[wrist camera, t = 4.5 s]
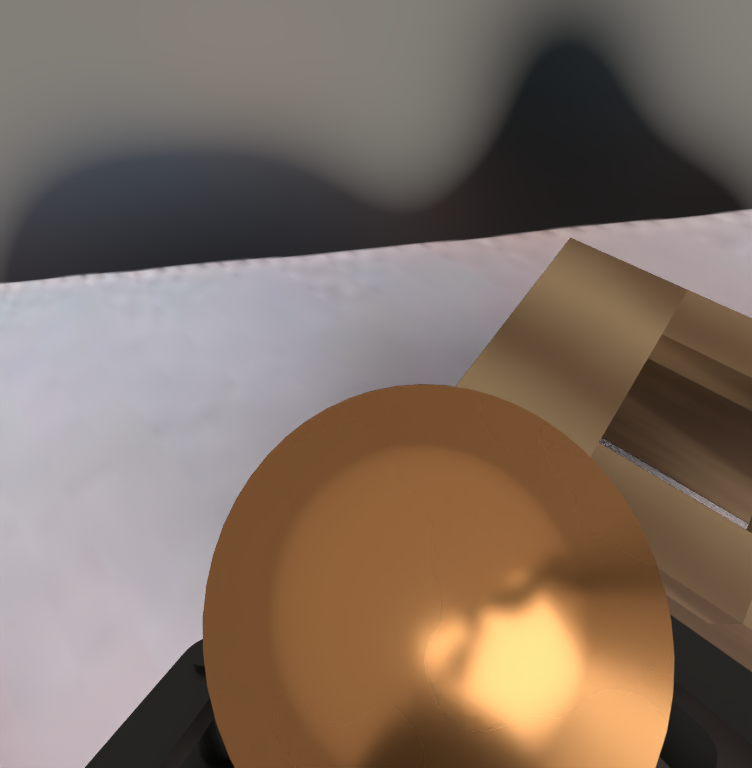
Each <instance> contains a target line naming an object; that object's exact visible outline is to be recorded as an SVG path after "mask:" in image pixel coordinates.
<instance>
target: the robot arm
mask: <svg viewBox="0 0 752 768" xmlns="http://www.w3.org/2000/svg"><path fill="white" fill-rule="evenodd" d="M670 617H671V623H672V634H673V645H674V657H675V658H674V685H673V698H672V704H671V710H670V716H669V722H668V728H667V733H666V736H665V739H664V742H663V746H662V749H661V752H660V755H659V758H658V761H657V765H656V768H752V672H751V671H750V670H748V669H747V668H746V667H744V666H743V665H741V664H740V663H738V662H737V661H736V660H734V659H733V658H731V657H730V656H729V655H727V654H726V653H724V652H723V651H721V650H720V649H719V648H717V647H716V646H714V645H713V644H712V643H710V642H709V641H707V640H706V639H704V638H703V637H702V636H700V635H699V634H697V633H696V632H695V631H693V630H692V629H690V628H689V627H687V626H686V625H685V624H683V623H682V622H680V621H679V620H678V619H676V618H675V617H673V616H672V615H670ZM85 768H235V767H234V765H233V763H232V762H231V760H230V758H229V755H228V752H227V750H226V747H225V745H224V742H223V739H222V737H221V734H220V732H219V729H218V726H217V724H216V720H215V716H214V712H213V708H212V704H211V700H210V696H209V692H208V688H207V680H206V672H205V664H204V655H203V639H202V640H200V641H198V642H197V643H195V644H194V645H192V646H191V647H190V648H189V649H188V650H187V651H186V652H185V653H184V654H183V655H182V656H181V657H180V658H179V660H178V661H177V662H176V663H175V664H174V665H173V667H172V668H171V669H170V670H169V671H168V672H167V673H166V675H165V676H164V677H163V678H162V679H161V680H160V682H159V683H158V684H157V685H156V686H155V687H154V688H153V690H152V691H151V692H150V693H149V694H148V695H147V696H146V698H145V699H144V700H143V701H142V702H141V703H140V705H139V706H138V707H137V708H136V709H135V710H134V711H133V713H132V714H131V715H130V716H129V717H128V718H127V720H126V721H125V722H124V723H123V724H122V725H121V726H120V728H119V729H118V730H117V731H116V732H115V733H114V735H113V736H112V737H111V738H110V739H109V740H108V741H107V743H106V744H105V745H104V746H103V747H102V748H101V750H100V751H99V752H98V753H97V754H96V755H95V756H94V758H93V759H92V760H91V761H90V762H89V763H88V765H87V766H86V767H85Z"/></svg>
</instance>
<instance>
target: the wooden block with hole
mask: <svg viewBox="0 0 752 768" xmlns="http://www.w3.org/2000/svg"><path fill="white" fill-rule="evenodd" d="M455 387H460V388H466V389H471V390H475V391H478V392H482V393H486V394H489V395H493V396H495V397H498V398H501V399H503V400H506V401H508V402H511V403H513V404H516V405H518V406H520V407H522V408H524V409H525V410H527V411H529V412H531V413H533V414H535V415H537V416H539V417H540V418H542V419H543V420H545V421H546V422H548V423H549V424H551V425H552V426H554V427H555V428H557V429H558V430H560V431H561V432H563V433H564V434H565V435H566V436H567V437H568V438H570V439H571V440H572V441H573V442H574V443H576V444H577V445H578V446H579V447H580V448H581V449H583V450H584V451H585V452H586V453H587V454H588V455H589V456H590V457H591V459H592V460H593V461H594V462H595V463H596V464H597V465H598V466H599V467H600V468H601V469H602V470H603V471H604V472H605V474H606V475H607V476H608V477H609V479H610V480H611V481H612V483H613V484H614V485H615V487H616V488H617V489H618V491H619V492H620V493H621V494H622V496H623V497H624V499H625V501H626V502H627V504H628V506H629V507H630V509H631V511H632V512H633V514H634V516H635V517H636V519H637V520H638V522H639V524H640V526H641V528H642V530H643V532H644V535H645V537H646V539H647V541H648V543H649V545H650V548H651V550H652V552H653V554H654V557H655V560H656V563H657V566H658V569H659V572H660V575H661V578H662V581H663V584H664V588H665V593H666V598H667V602H668V607H669V612H670V615H672V616H673V617H675V618H676V619H678V620H679V621H680V622H682V623H683V624H685V625H686V626H687V627H689V628H690V629H692V630H693V631H695V632H696V633H697V634H699V635H700V636H702V637H703V638H704V639H706V640H707V641H709V642H710V643H712V644H713V645H714V646H716V647H717V648H719V649H720V650H721V651H723V652H724V653H726V654H727V655H729V656H730V657H731V658H733V659H734V660H736V661H737V662H738V663H740V664H741V665H743V666H744V667H746V668H747V669H748V670H750V671H751V672H752V318H749V317H747V316H745V315H743V314H740V313H738V312H736V311H734V310H731V309H729V308H727V307H725V306H723V305H720V304H718V303H716V302H714V301H711V300H709V299H707V298H705V297H702V296H700V295H698V294H696V293H693V292H691V291H689V290H687V289H684V288H682V287H680V286H678V285H675V284H673V283H671V282H669V281H666V280H664V279H662V278H660V277H657V276H655V275H653V274H651V273H648V272H646V271H644V270H642V269H639V268H637V267H635V266H633V265H630V264H628V263H626V262H624V261H621V260H619V259H617V258H615V257H613V256H610V255H608V254H606V253H604V252H601V251H599V250H597V249H595V248H592V247H590V246H588V245H586V244H583V243H581V242H579V241H577V240H574V239H572V238H570V239H569V240H568V241H567V243H566V244H565V245H564V247H563V248H562V249H561V251H560V252H559V253H558V254H557V256H556V257H555V258H554V260H553V261H552V262H551V263H550V265H549V266H548V267H547V269H546V270H545V271H544V273H543V274H542V275H541V276H540V278H539V279H538V280H537V282H536V283H535V284H534V285H533V287H532V288H531V289H530V291H529V292H528V293H527V295H526V296H525V297H524V298H523V300H522V301H521V302H520V304H519V305H518V306H517V308H516V309H515V310H514V311H513V313H512V314H511V315H510V317H509V318H508V319H507V320H506V322H505V323H504V324H503V326H502V327H501V328H500V330H499V331H498V332H497V333H496V335H495V336H494V337H493V339H492V340H491V341H490V342H489V344H488V345H487V346H486V348H485V349H484V350H483V352H482V353H481V354H480V355H479V357H478V358H477V359H476V361H475V362H474V363H473V364H472V366H471V367H470V368H469V370H468V371H467V372H466V374H465V375H464V376H463V377H462V379H461V380H460V381H459V383H458V384H457V385H456V386H455ZM601 438H604V439H606V440H608V441H609V442H611V443H613V444H614V445H616V446H618V447H619V448H621V449H623V450H625V451H626V452H628V453H630V454H631V455H633V456H635V457H636V458H638V459H640V460H642V461H643V462H645V463H647V464H648V465H650V466H652V467H653V468H655V469H657V470H659V471H660V472H662V473H664V474H665V475H667V476H669V477H670V478H672V479H674V480H676V481H677V482H679V483H681V484H682V485H684V486H686V487H687V488H689V489H691V490H693V491H694V492H696V493H698V494H699V495H701V496H703V497H704V498H706V499H708V500H710V501H711V502H713V503H715V504H716V505H718V506H720V507H721V508H723V509H725V510H727V511H728V512H730V513H732V514H733V515H735V516H737V517H738V518H740V519H742V520H744V521H745V522H747V523H749V524H748V527H747V529H746V530H745V529H744V528H742V527H740V526H739V525H737V524H735V523H734V522H732V521H730V520H728V519H727V518H725V517H723V516H722V515H720V514H718V513H717V512H715V511H713V510H712V509H710V508H708V507H707V506H705V505H703V504H702V503H700V502H698V501H696V500H695V499H693V498H691V497H690V496H688V495H686V494H685V493H683V492H681V491H680V490H678V489H676V488H675V487H673V486H671V485H670V484H668V483H666V482H664V481H663V480H661V479H659V478H658V477H656V476H654V475H653V474H651V473H649V472H648V471H646V470H644V469H643V468H641V467H639V466H638V465H636V464H634V463H632V462H631V461H629V460H627V459H626V458H624V457H622V456H621V455H619V454H617V453H616V452H614V451H612V450H611V449H609V448H607V447H606V446H604V445H602V444H600V443H599V441H600V439H601Z"/></svg>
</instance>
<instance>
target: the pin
mask: <svg viewBox="0 0 752 768" xmlns="http://www.w3.org/2000/svg"><path fill="white" fill-rule="evenodd" d="M203 655H204V664H205V672H206V680H207V688H208V692H209V696H210V700H211V704H212V708H213V712H214V716H215V720H216V724H217V726H218V729H219V732H220V734H221V737H222V739H223V742H224V745H225V747H226V750H227V752H228V755H229V758H230V760H231V762H232V763H233V765H234V767H235V768H656V765H657V761H658V758H659V755H660V752H661V749H662V746H663V742H664V739H665V736H666V733H667V728H668V722H669V716H670V710H671V704H672V698H673V685H674V658H675V657H674V645H673V634H672V623H671V617H670V612H669V607H668V602H667V598H666V593H665V588H664V584H663V581H662V578H661V575H660V572H659V569H658V566H657V563H656V560H655V557H654V554H653V552H652V550H651V548H650V545H649V543H648V541H647V539H646V537H645V535H644V532H643V530H642V528H641V526H640V524H639V522H638V520H637V519H636V517H635V516H634V514H633V512H632V511H631V509H630V507H629V506H628V504H627V502H626V501H625V499H624V497H623V496H622V494H621V493H620V492H619V491H618V489H617V488H616V487H615V485H614V484H613V483H612V481H611V480H610V479H609V477H608V476H607V475H606V474H605V472H604V471H603V470H602V469H601V468H600V467H599V466H598V465H597V464H596V463H595V462H594V461H593V460H592V459H591V457H590V456H589V455H588V454H587V453H586V452H585V451H584V450H583V449H581V448H580V447H579V446H578V445H577V444H576V443H574V442H573V441H572V440H571V439H570V438H568V437H567V436H566V435H565V434H564V433H563V432H561V431H560V430H558V429H557V428H555V427H554V426H552V425H551V424H549V423H548V422H546V421H545V420H543V419H542V418H540V417H539V416H537V415H535V414H533V413H531V412H529V411H527V410H525V409H524V408H522V407H520V406H518V405H516V404H513V403H511V402H508V401H506V400H503V399H501V398H498V397H495V396H493V395H489V394H486V393H482V392H478V391H475V390H471V389H466V388H460V387H453V386H446V385H426V384H417V385H404V386H394V387H389V388H384V389H379V390H374V391H370V392H367V393H364V394H361V395H358V396H355V397H352V398H349V399H347V400H344V401H342V402H340V403H338V404H336V405H334V406H331V407H329V408H327V409H325V410H324V411H322V412H321V413H319V414H317V415H316V416H314V417H312V418H311V419H309V420H307V421H306V422H305V423H303V424H302V425H301V426H299V427H298V428H297V429H296V430H294V431H293V432H292V433H290V434H289V435H288V436H287V437H286V438H284V439H283V440H282V441H281V442H280V443H279V444H278V445H277V446H276V447H275V448H274V449H273V450H272V451H271V452H270V453H269V454H268V455H267V457H266V458H265V459H264V460H263V462H262V463H261V464H260V465H259V467H258V468H257V469H256V470H255V472H254V473H253V474H252V475H251V477H250V478H249V480H248V481H247V483H246V485H245V486H244V488H243V489H242V491H241V492H240V494H239V496H238V497H237V499H236V501H235V503H234V505H233V507H232V509H231V511H230V513H229V515H228V517H227V519H226V521H225V523H224V525H223V528H222V531H221V534H220V537H219V540H218V543H217V545H216V548H215V551H214V554H213V558H212V563H211V567H210V572H209V576H208V580H207V585H206V594H205V603H204V612H203Z"/></svg>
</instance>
